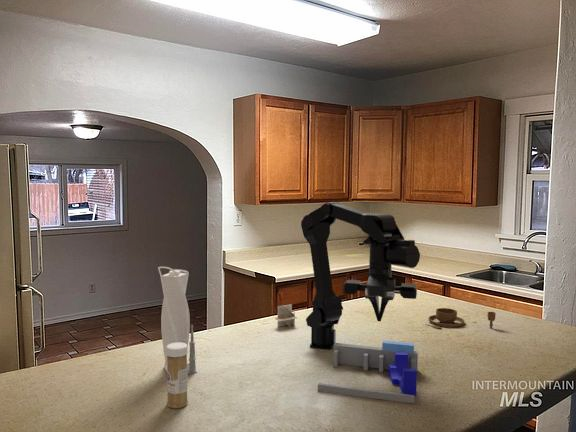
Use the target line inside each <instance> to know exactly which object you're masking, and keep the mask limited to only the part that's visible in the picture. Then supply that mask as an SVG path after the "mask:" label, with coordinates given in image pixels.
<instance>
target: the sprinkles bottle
mask: <svg viewBox="0 0 576 432" xmlns="http://www.w3.org/2000/svg"><path fill="white" fill-rule="evenodd" d="M188 348H189V347H188ZM188 348H187V344H185V343H181V342H177V343H171V344H169V345H167V347H166V355H167V370H168V371H167V373H166V375H167V377H166V378H167V379H166V386H167V387H166V390H167V391H166V392H167V403H166V405H167V407H168V408H170V409H181V408H183V407H186V406H187V405H188V403H189V401H188V375H187V364H188V353H189V350H188Z"/></svg>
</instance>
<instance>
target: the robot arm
mask: <svg viewBox="0 0 576 432" xmlns="http://www.w3.org/2000/svg"><path fill="white" fill-rule="evenodd" d="M336 220H339V221H342V222H345V223H348V224H351V225H353V226H356V227H359V228H360V229H361V231H362V232H363V233H364V234H366V235H368V237H367V238H365V239H364V240H363V241H362V243H363V245H364V244H365V245H369V259H368V261H369V263H368V264H369V265H368V267H369V269H368V270H369V271H368V276H367V278H366V279H367V281H366V283H362V282H361V281H362V280H361V279H360V280H358V279H347V280H346V281H345V282H344V284H342V294H343V295H356V294H357V293H358V292H364V293H365V295H364V298H365V299H367V300H368V301H369V302H370V304H371V306H372V308H373V310H374V314H375V316H376V320H377V322H382V319H383V317H384V316H383V315H384V314H385V313H384V312H385V310H386V307H387V305H388V304H389V302H390V301H393V300H394V299H395V297H396V296H395V294H398V295H400V296H401V297H402V298H403V299H408V300H409V299H410V300H411V299H412V300H414V299H417V295H418V286H417V284H416V283H406V282H405V283H404V282H401V285H400V286H397V285H396V277H394V276H392V266H398V267H403V268H409V269H414V268H415V267H417V266H418V264H419V262H420V259H421V253H420V250H419V248H418V246H417V245H416V242H415V240H413V239H408V240H406V239H405V237H404V236H403V234H402V232H401V230H400V228H399V226H398V225H397V223H396V220H395V217H394V216H393V215H392V214H389V213H378V212H377V213H372V212H366V211H364V210H360V209H357V208H354V207H352V206H348V205H345V204H341V203H340V202H337V201H336V202H335V201H331V202H330V201H329V202H325V203H323V204H322V205H321V206H320V207H318V208H316V209H314V210H313V211H311V212H310V213H309V214H306V215H305V216H303V218H302V220H301V222H300V225H301V226H300V227H301V231H302V233H303V234H302V235H303V237H304V239H305V240H306V241H307V243H308V244H309V247H310V254H311V263H312V269H313V278H314V284H315V285H314V286H315V291H316V292H315V296H314V298H313V302H312V311H311V313H309V315H308V316H307V317H306V318H305V321H306V322H305V323H306V326H307V327H310V329H311V332H310V334H311V335H310V336H311V337H310V338H311V341H310V344H309V347H310V348H316V349H324V350H332V349H333V348H334V344H335V343H337V342H336V341H337V340H336V337H337V335H336V333H337V332H336V329H335V325H338V324H339V322H340V318H341V316H342V315H343V310H344V307H343V303H342V297H341V295H337V294H336V293H335V291H334V287H333V281H332V274H331V266H330V259H329V252H328V251H329V250H328V245H327V244H328V243H327V242H328V239H329V238H330V235H331V226H332V225H333V224H334V223H335V222H336ZM379 297H380V298H381V299H380V298H379ZM380 300H381V301H380Z"/></svg>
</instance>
